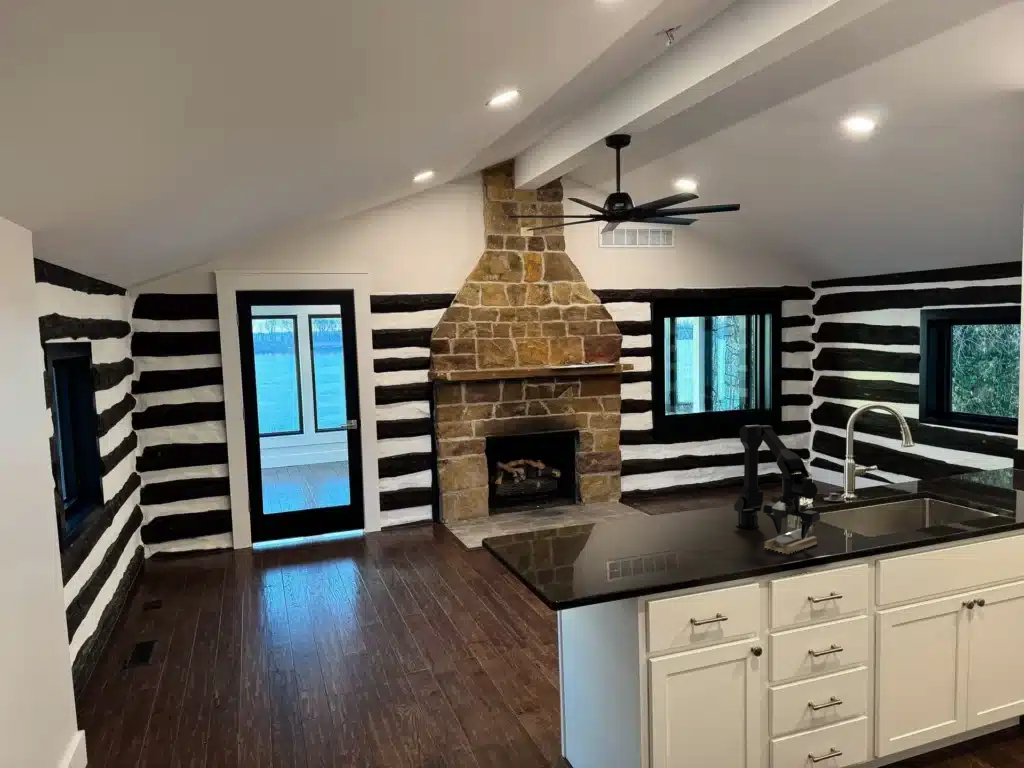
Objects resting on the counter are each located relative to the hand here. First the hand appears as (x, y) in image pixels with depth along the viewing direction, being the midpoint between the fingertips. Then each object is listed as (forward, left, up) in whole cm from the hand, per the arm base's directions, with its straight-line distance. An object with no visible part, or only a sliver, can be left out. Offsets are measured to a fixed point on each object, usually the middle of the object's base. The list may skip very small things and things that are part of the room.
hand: (790, 536), depth 256 cm
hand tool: (-30, +44, -4) cm, 53 cm away
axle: (0, 0, -2) cm, 2 cm away
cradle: (0, 0, -4) cm, 4 cm away
